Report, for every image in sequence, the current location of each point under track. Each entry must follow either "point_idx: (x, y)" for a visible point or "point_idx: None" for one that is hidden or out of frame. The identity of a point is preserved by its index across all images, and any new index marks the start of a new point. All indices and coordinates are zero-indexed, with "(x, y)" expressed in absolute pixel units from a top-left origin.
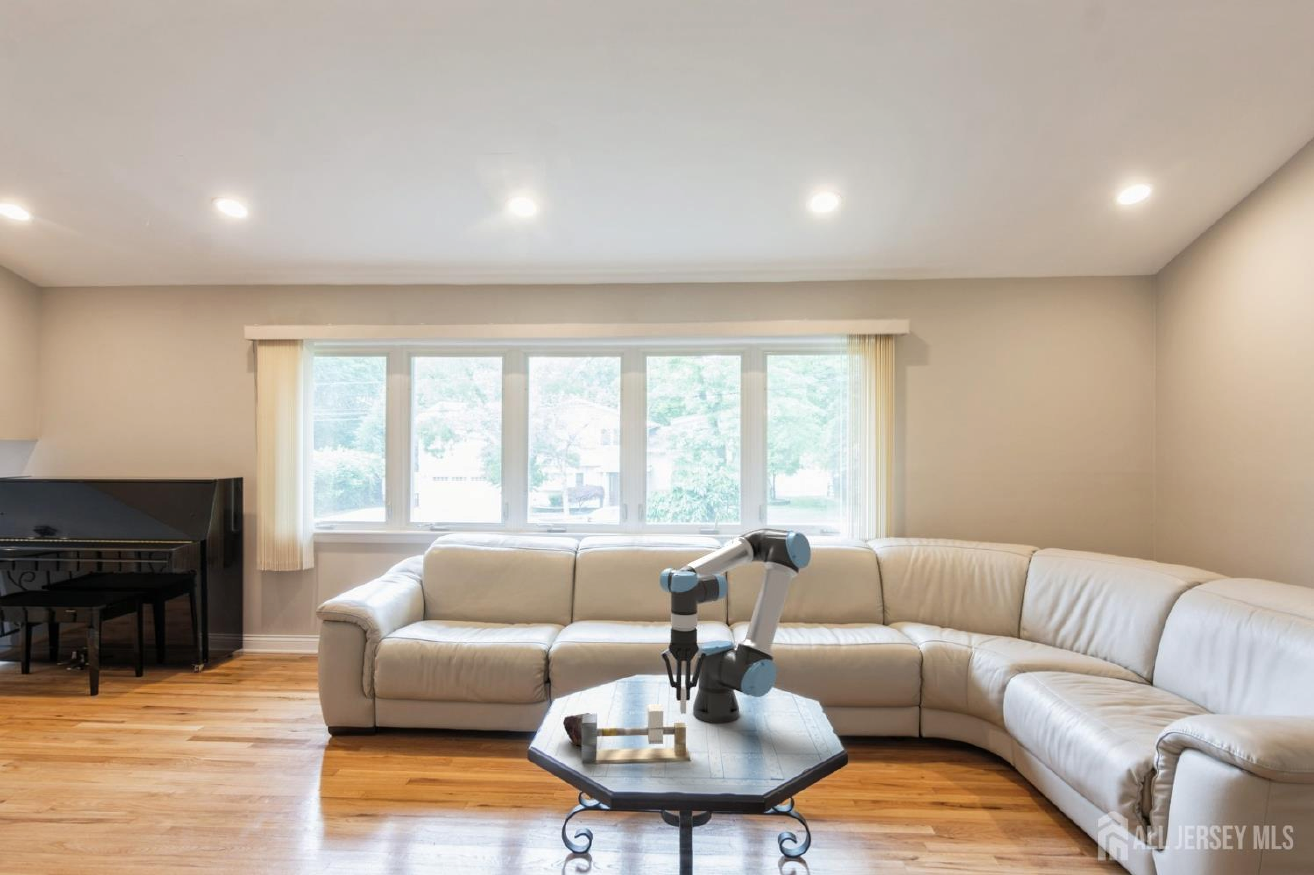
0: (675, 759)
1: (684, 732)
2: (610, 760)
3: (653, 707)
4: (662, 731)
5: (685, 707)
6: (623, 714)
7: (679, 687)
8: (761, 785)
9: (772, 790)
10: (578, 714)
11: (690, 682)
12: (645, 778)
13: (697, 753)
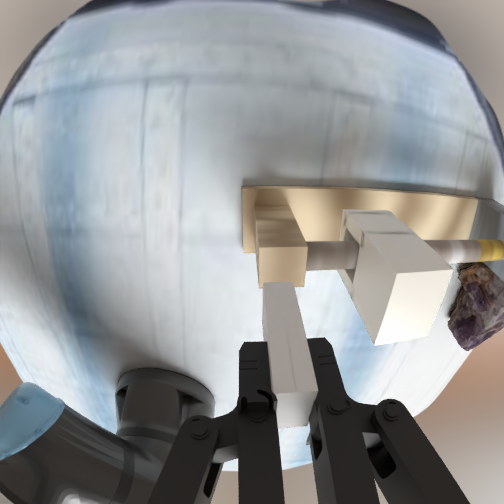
0: (289, 187)
1: (264, 237)
2: (454, 196)
3: (421, 310)
4: (361, 226)
5: (269, 303)
6: (360, 392)
7: (335, 406)
8: (59, 59)
9: (43, 43)
10: (497, 330)
11: (234, 452)
12: (388, 94)
13: (213, 229)
